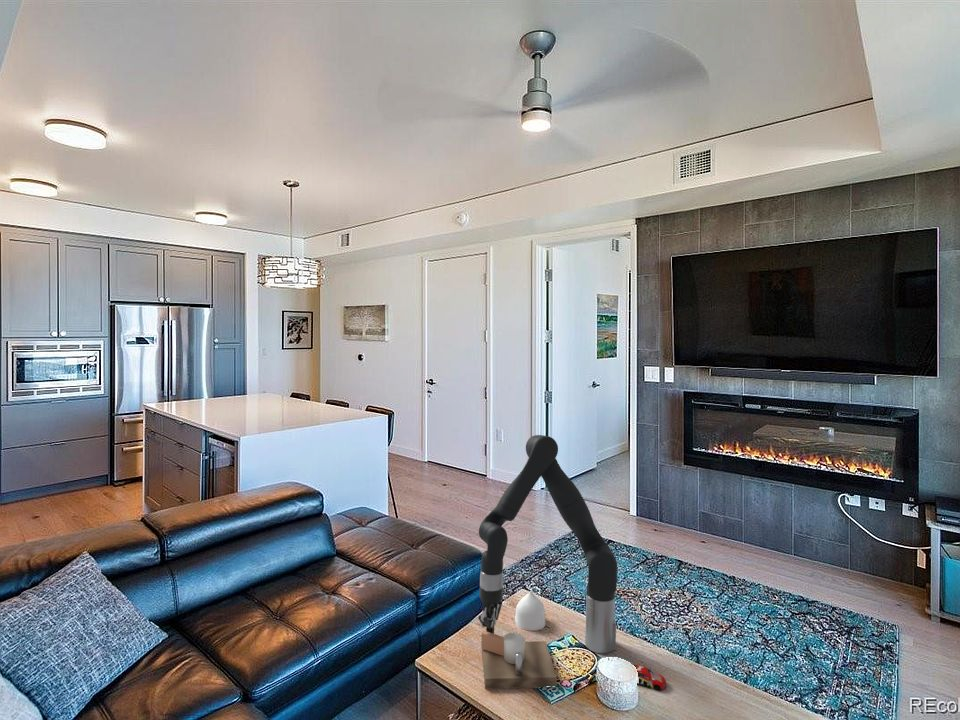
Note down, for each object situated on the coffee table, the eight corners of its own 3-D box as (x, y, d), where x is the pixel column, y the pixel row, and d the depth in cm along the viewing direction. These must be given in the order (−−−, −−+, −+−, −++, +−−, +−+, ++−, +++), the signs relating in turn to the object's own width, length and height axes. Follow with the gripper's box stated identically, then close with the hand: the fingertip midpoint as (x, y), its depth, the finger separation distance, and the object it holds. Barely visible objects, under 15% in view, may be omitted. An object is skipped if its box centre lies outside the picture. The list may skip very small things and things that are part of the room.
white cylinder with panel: (527, 655, 159) (527, 636, 159) (519, 666, 154) (519, 647, 154) (487, 642, 166) (487, 624, 166) (477, 652, 160) (478, 633, 160)
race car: (667, 683, 153) (667, 670, 153) (665, 694, 148) (665, 681, 148) (622, 670, 159) (622, 657, 158) (619, 680, 154) (619, 667, 154)
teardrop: (547, 616, 189) (547, 584, 188) (543, 632, 178) (544, 599, 178) (517, 612, 191) (518, 580, 191) (512, 628, 181) (513, 595, 180)
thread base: (545, 650, 168) (546, 623, 167) (556, 687, 150) (557, 657, 150) (481, 651, 167) (482, 624, 166) (485, 688, 149) (485, 658, 148)
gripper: (490, 573, 172) (488, 622, 173) (471, 590, 160) (470, 643, 161) (510, 578, 168) (509, 629, 169) (492, 596, 157) (491, 651, 158)
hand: (490, 636), depth 165 cm, fingers closed
